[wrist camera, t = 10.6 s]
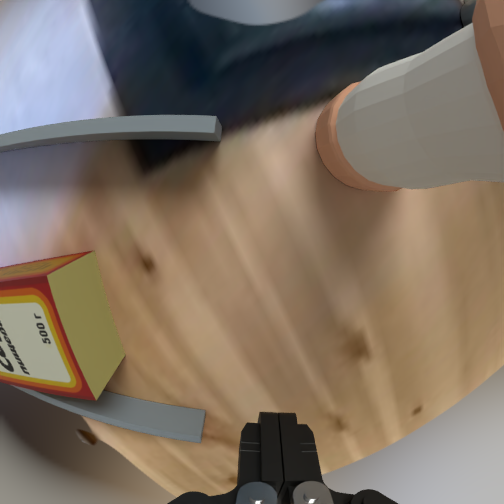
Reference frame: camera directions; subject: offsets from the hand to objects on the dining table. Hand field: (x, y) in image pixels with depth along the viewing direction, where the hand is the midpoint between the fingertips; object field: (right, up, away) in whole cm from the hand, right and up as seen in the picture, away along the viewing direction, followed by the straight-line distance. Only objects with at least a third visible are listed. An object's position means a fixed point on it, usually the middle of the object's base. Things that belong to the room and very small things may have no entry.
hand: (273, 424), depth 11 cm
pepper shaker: (+7, +15, +8) cm, 19 cm away
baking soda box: (-12, +2, +7) cm, 15 cm away
